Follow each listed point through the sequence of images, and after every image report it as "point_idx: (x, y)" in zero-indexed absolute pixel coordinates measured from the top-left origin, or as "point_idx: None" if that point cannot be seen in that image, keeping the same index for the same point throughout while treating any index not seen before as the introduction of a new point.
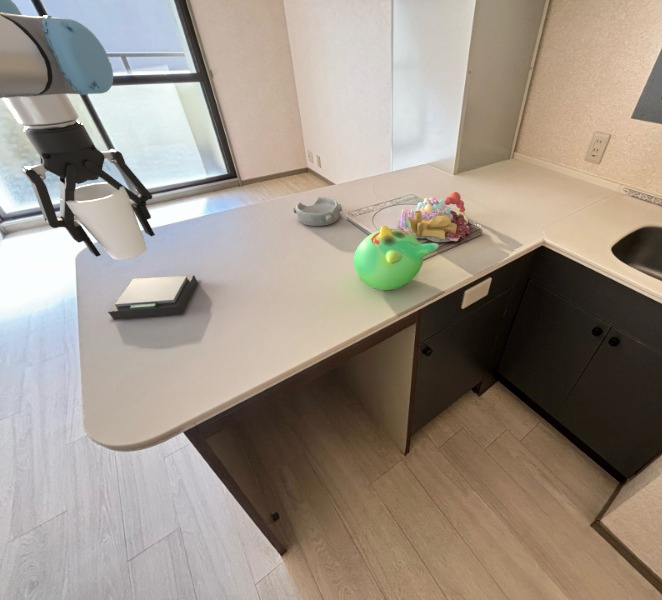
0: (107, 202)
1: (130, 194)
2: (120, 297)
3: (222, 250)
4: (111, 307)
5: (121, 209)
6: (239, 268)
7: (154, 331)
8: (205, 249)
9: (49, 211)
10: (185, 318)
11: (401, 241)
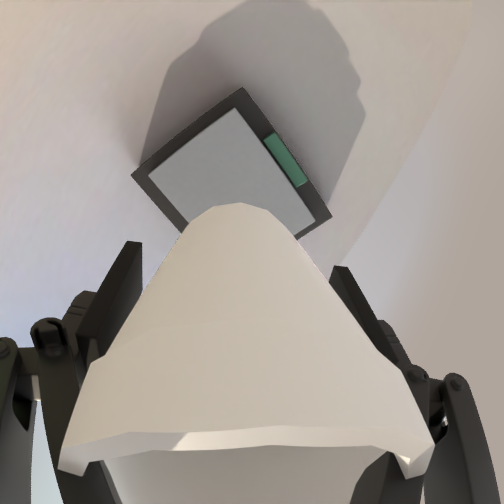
0: (280, 383)
1: (61, 407)
2: (293, 233)
3: (38, 239)
4: (319, 225)
5: (188, 318)
6: (48, 137)
7: (312, 93)
8: (61, 274)
9: (473, 433)
10: (247, 67)
11: None
